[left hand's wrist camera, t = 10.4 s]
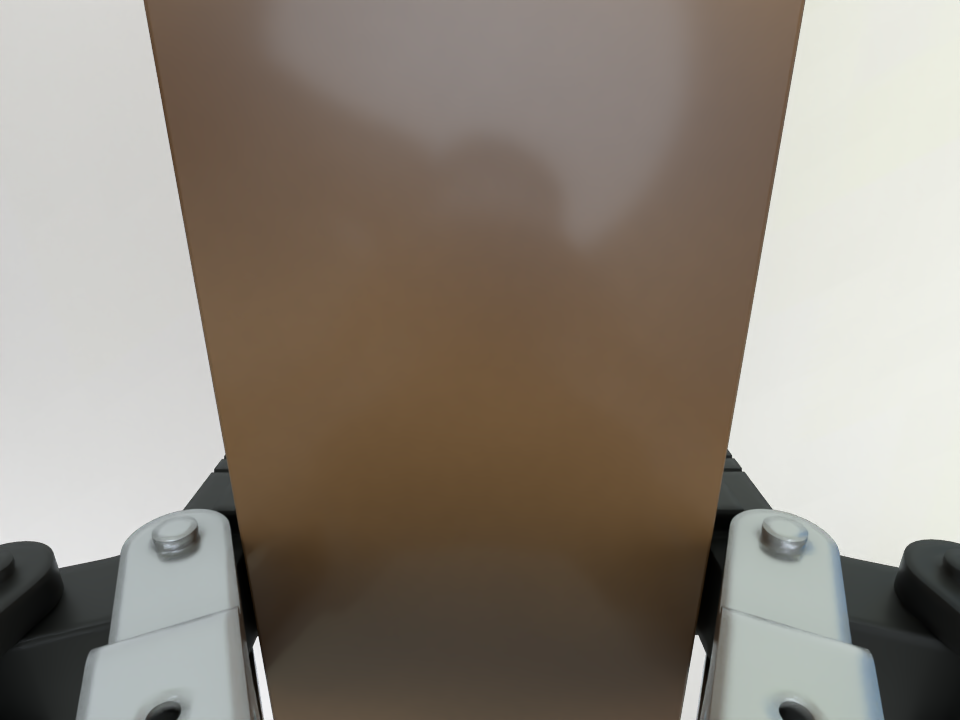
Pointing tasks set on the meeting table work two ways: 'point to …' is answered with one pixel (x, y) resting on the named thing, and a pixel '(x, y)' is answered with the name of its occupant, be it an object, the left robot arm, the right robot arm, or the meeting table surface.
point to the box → (475, 331)
